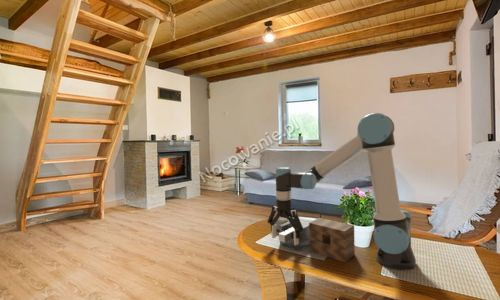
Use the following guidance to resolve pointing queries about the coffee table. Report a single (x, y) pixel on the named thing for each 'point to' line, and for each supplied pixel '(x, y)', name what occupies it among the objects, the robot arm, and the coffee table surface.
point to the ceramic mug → (280, 223)
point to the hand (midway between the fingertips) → (284, 240)
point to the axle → (286, 235)
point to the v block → (290, 243)
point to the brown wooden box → (332, 239)
